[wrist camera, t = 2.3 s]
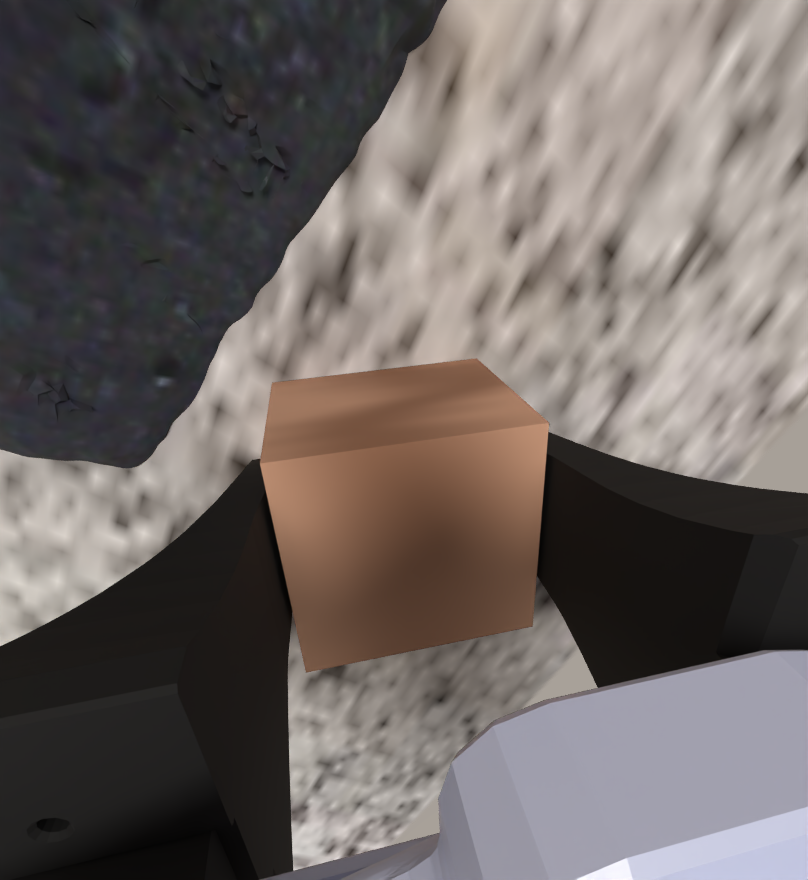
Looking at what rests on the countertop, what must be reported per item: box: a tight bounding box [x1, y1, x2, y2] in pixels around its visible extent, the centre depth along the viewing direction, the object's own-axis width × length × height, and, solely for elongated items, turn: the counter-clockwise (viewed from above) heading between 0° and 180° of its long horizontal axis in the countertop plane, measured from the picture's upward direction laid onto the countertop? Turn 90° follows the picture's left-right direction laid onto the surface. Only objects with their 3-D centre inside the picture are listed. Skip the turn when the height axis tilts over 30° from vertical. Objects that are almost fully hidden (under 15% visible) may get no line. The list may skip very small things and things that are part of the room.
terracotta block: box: [260, 359, 549, 672], centre depth 11 cm, size 5×5×4 cm
